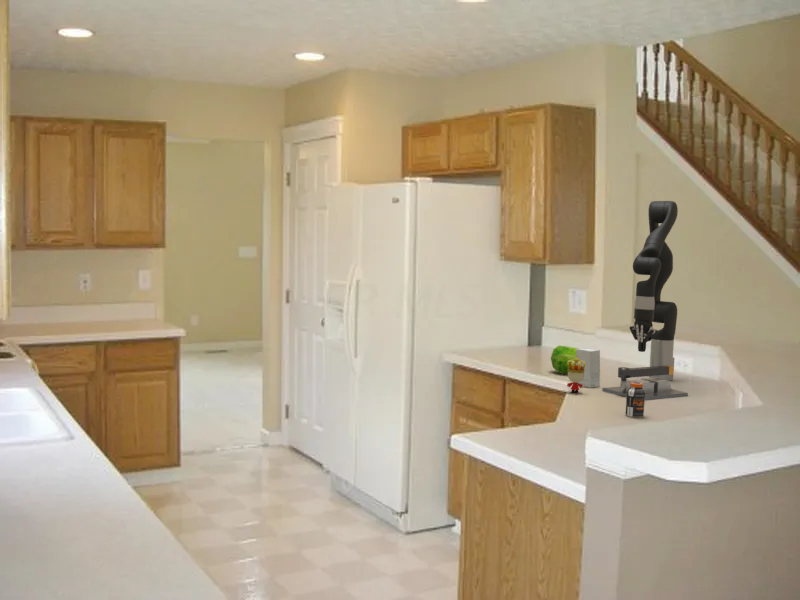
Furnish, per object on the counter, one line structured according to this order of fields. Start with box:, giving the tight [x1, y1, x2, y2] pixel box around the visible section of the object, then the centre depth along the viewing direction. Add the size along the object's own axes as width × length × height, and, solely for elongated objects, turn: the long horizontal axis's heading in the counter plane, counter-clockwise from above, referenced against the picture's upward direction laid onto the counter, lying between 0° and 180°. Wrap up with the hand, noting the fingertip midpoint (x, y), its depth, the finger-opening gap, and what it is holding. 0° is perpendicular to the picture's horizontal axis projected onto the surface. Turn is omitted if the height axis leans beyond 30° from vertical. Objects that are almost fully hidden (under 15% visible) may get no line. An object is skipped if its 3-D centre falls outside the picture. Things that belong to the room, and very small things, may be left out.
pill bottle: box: [625, 382, 646, 418], centre depth 298 cm, size 6×6×11 cm
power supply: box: [626, 378, 654, 393], centre depth 339 cm, size 7×9×4 cm
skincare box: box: [576, 347, 601, 388], centre depth 353 cm, size 8×6×15 cm
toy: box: [566, 355, 586, 394], centre depth 337 cm, size 7×7×15 cm
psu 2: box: [640, 377, 672, 392], centre depth 344 cm, size 7×9×4 cm
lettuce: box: [550, 345, 580, 375], centre depth 383 cm, size 14×20×12 cm
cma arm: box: [617, 365, 675, 379], centre depth 340 cm, size 27×4×4 cm, turn 120°
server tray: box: [601, 378, 689, 401], centre depth 341 cm, size 25×20×7 cm
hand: (641, 351), depth 350 cm, fingers closed
